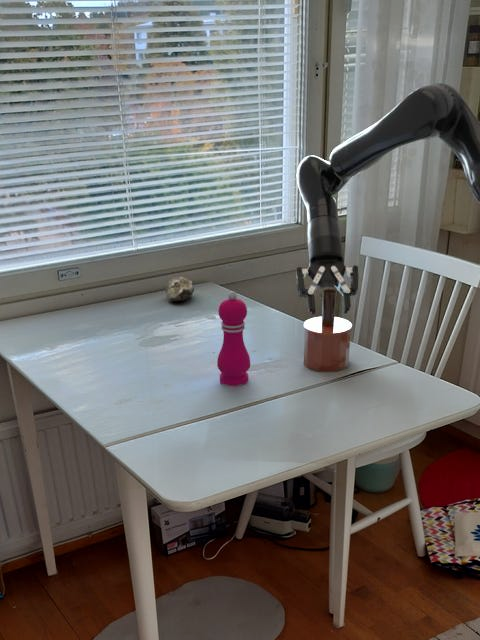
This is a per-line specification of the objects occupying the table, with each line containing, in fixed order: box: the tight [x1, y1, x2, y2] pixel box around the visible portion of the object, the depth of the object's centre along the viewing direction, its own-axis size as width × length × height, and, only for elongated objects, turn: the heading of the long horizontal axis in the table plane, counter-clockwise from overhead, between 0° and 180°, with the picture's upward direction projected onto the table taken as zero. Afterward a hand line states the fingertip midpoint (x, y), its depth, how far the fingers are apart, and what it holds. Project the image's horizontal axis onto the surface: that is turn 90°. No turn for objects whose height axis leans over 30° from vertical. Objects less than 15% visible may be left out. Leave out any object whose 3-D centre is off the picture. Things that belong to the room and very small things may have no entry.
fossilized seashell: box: [164, 276, 195, 302], centre depth 218 cm, size 8×7×10 cm
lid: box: [303, 288, 353, 336], centre depth 173 cm, size 11×11×9 cm
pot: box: [303, 329, 352, 373], centre depth 178 cm, size 10×10×8 cm
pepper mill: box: [216, 290, 251, 387], centre depth 167 cm, size 7×7×20 cm
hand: (329, 312), depth 172 cm, fingers open, 6 cm apart
